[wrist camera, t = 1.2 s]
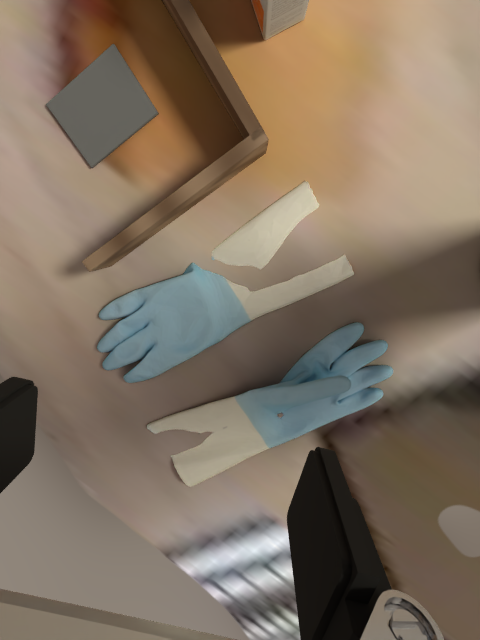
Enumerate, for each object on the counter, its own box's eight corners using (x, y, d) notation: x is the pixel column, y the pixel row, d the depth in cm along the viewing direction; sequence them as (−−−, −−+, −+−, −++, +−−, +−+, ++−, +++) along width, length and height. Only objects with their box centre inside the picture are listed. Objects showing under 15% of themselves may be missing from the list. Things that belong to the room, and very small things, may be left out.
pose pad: (114, 45, 30) (113, 43, 30) (158, 113, 32) (158, 112, 31) (47, 105, 32) (45, 104, 31) (92, 168, 33) (91, 167, 33)
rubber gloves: (73, 324, 39) (39, 342, 33) (307, 179, 33) (320, 167, 27) (192, 481, 45) (182, 521, 39) (406, 380, 39) (436, 408, 33)
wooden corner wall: (142, -59, 28) (120, -120, 23) (266, 152, 32) (268, 139, 27) (-19, 96, 32) (-67, 71, 27) (111, 266, 36) (89, 271, 31)
